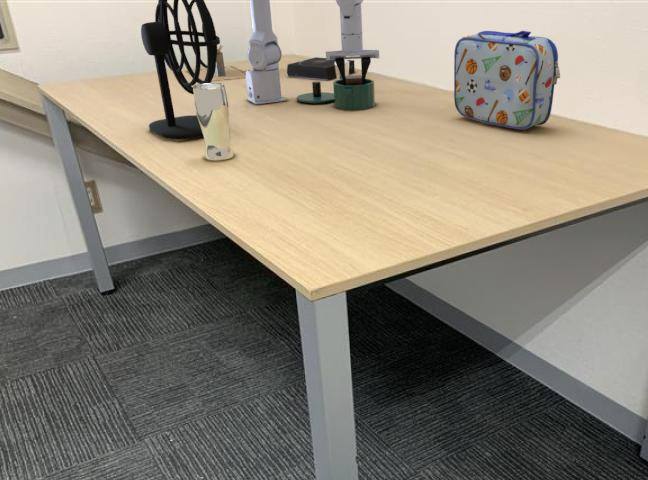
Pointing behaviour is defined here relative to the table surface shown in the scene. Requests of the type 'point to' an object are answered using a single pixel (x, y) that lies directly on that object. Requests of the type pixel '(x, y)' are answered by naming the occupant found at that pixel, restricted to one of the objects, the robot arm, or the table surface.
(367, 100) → the tin
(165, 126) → the desk fan
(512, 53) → the lunch box
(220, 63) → the architectural model on board
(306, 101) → the lid
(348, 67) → the milkshake
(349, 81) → the block
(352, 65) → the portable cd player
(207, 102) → the beer glass
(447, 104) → the table surface
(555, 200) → the table surface
